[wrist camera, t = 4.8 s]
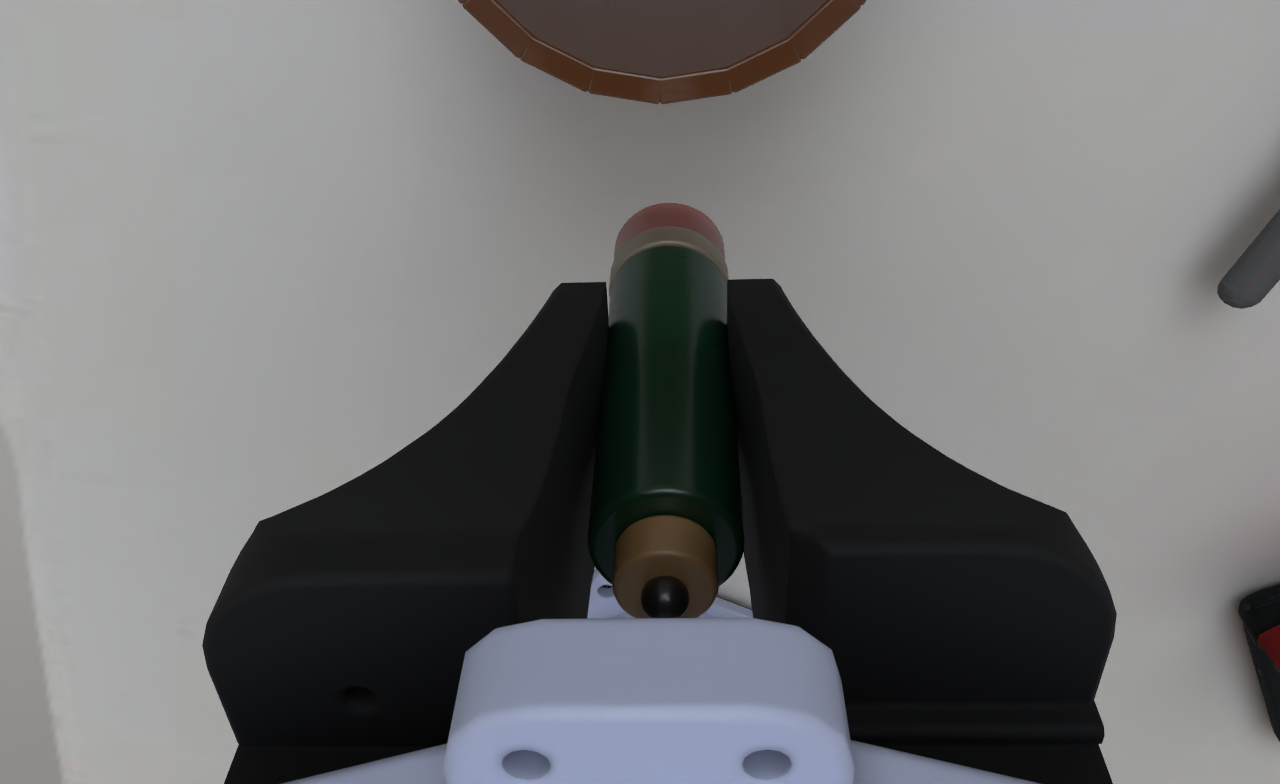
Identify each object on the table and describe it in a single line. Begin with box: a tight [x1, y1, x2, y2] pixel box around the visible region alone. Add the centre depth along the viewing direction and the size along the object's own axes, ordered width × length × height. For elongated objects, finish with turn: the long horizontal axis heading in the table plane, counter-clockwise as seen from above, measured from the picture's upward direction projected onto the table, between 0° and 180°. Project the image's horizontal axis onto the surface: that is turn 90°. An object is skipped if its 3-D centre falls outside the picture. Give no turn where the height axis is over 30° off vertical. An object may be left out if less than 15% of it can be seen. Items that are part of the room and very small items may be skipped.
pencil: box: [587, 203, 745, 618], centre depth 14 cm, size 2×2×8 cm
